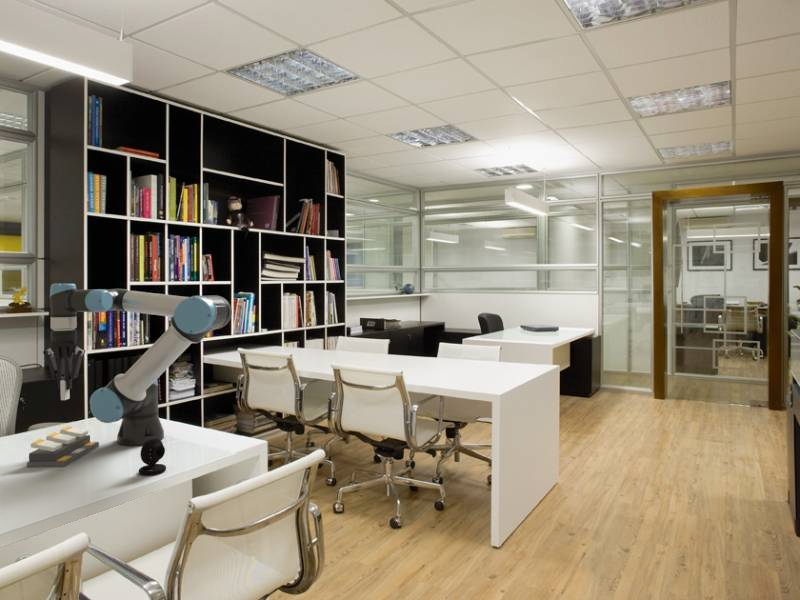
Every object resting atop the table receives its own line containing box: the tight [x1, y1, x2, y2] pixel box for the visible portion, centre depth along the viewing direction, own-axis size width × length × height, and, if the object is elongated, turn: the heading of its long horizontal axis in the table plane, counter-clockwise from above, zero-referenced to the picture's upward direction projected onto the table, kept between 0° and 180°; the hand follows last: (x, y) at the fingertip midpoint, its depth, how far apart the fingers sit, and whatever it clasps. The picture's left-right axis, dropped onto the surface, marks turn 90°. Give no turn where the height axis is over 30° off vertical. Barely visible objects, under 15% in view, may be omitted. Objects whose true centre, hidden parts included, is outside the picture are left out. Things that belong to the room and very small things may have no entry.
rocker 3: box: [59, 425, 89, 437], centre depth 187 cm, size 7×4×1 cm, turn 92°
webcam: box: [138, 438, 167, 477], centre depth 165 cm, size 8×8×10 cm
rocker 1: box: [30, 438, 62, 452], centre depth 172 cm, size 7×4×1 cm, turn 92°
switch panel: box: [26, 434, 100, 468], centre depth 180 cm, size 11×21×4 cm, turn 2°
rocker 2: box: [45, 431, 76, 444], centre depth 180 cm, size 7×4×1 cm, turn 92°
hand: (65, 399), depth 187 cm, fingers closed
